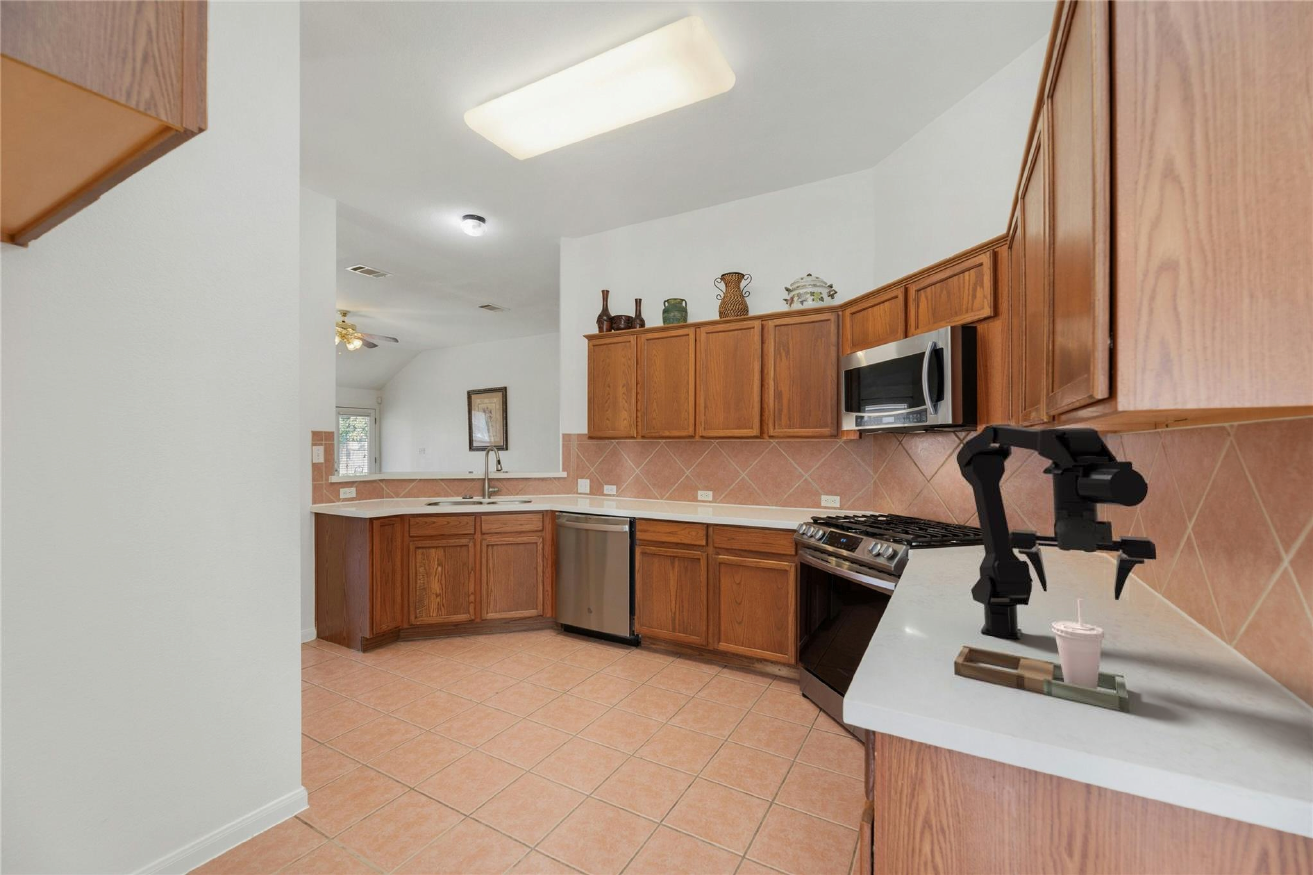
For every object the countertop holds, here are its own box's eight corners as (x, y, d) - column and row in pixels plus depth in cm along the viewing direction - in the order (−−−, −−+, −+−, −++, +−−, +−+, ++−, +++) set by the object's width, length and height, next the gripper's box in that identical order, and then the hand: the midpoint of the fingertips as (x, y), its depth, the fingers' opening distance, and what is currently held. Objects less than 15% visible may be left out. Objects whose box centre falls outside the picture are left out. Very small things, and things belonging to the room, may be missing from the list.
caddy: (964, 656, 93) (963, 645, 93) (1124, 688, 80) (1123, 675, 80) (954, 673, 86) (954, 661, 86) (1129, 712, 72) (1128, 697, 72)
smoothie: (1118, 701, 75) (1113, 605, 76) (1069, 698, 77) (1064, 603, 77) (1091, 683, 82) (1086, 594, 82) (1045, 680, 83) (1041, 592, 84)
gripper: (1003, 502, 86) (1007, 596, 85) (1157, 507, 74) (1164, 616, 74) (1009, 498, 95) (1013, 583, 94) (1149, 502, 83) (1155, 600, 82)
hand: (1079, 595), depth 86 cm, fingers open, 9 cm apart
